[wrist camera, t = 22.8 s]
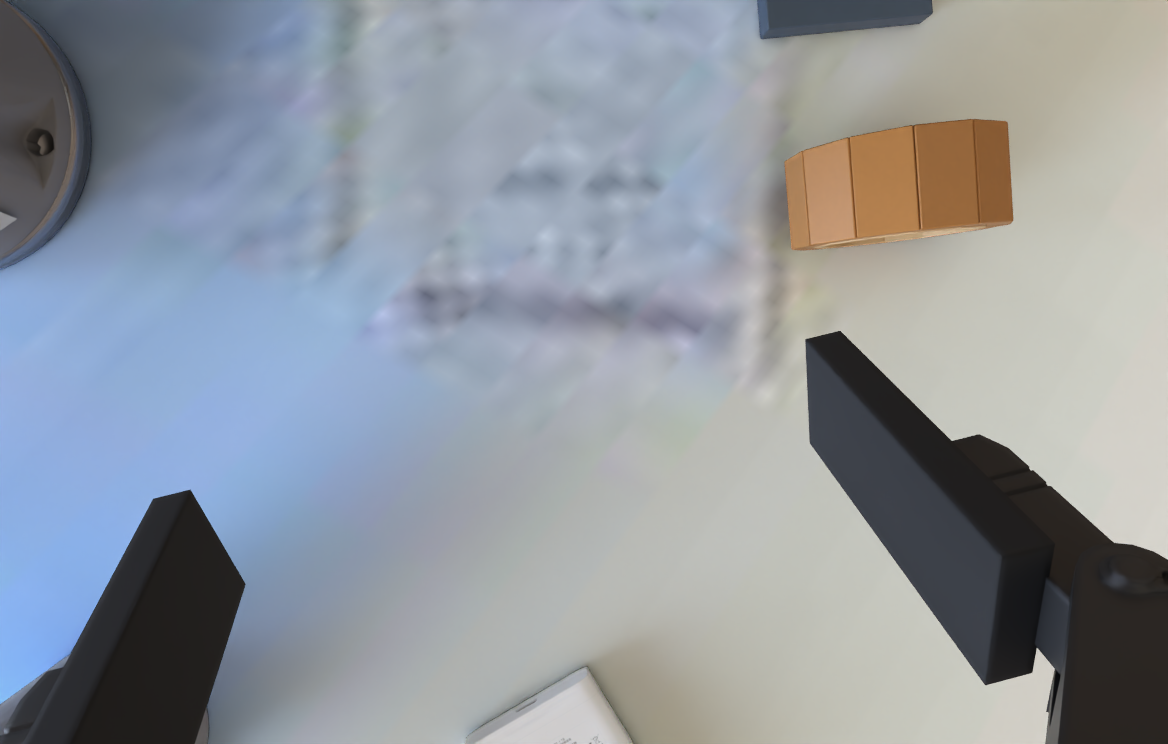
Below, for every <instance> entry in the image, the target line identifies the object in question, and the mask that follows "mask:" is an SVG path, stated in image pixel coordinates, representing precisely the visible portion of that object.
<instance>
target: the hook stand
mask: <svg viewBox="0 0 1168 744" xmlns="http://www.w3.org/2000/svg"><path fill="white" fill-rule="evenodd" d="M757 1H758V13H759V25H760V37H761V39H766V38H777V37H787V36H797V35H808V34H818V33H828V32H839V31H849V30H859V29H870V28H880V27H890V26H901V25H911V24H919V23H921V22H922V21H924V20H925V19H926V18H927V17H929V16H930V15H931V14H932V13H933V9H932V0H757Z"/></svg>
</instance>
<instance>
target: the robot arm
mask: <svg viewBox="0 0 1168 744" xmlns="http://www.w3.org/2000/svg"><path fill="white" fill-rule="evenodd" d="M90 154H91V127H90V120H89V113H88V109H87V105H86V101H85V97H84V94H83V91H82V89H81V86H80V83H79V81H78V79H77V77H76V74H75V72H74V70H73V68H72V67H71V65H70V63H69V62H68V60H67V58H66V57H65V55H64V54H63V52H62V51H61V49H60V48H59V47H58V45H57V44H56V43H55V42H54V41H53V39H52V38H51V37H50V36H49V35H48V34H47V33H46V32H45V31H44V30H43V29H42V28H41V27H40V26H39V25H38V24H37V23H36V22H35V21H34V20H32V19H31V18H30V17H29V16H28V15H26V14H25V13H24V12H22V11H21V10H19V9H18V8H16V7H15V6H13V5H12V4H10V3H8V2H6V1H5V0H0V269H3V268H5V267H8V266H10V265H13V264H15V263H17V262H18V261H20V260H22V259H24V258H26V257H27V256H29V255H30V254H32V253H33V252H35V251H36V250H38V249H39V248H40V247H41V246H43V245H44V244H45V243H46V242H47V241H49V240H50V238H51V237H52V236H53V235H54V234H55V233H56V232H57V231H58V230H59V229H60V228H61V226H62V225H63V224H64V223H65V221H66V220H67V218H68V217H69V215H70V214H71V212H72V210H73V209H74V207H75V205H76V203H77V201H78V199H79V197H80V194H81V192H82V189H83V186H84V184H85V180H86V176H87V172H88V168H89V161H90ZM805 341H806V364H807V388H808V411H809V434H810V444H811V445H812V447H813V448H814V449H815V451H816V452H817V454H818V455H819V456H820V458H821V459H822V460H823V462H824V463H825V465H826V466H827V467H828V469H829V470H830V472H831V473H832V474H833V476H834V477H835V478H836V480H837V481H838V483H839V484H840V485H841V487H842V488H843V489H844V491H845V492H846V494H847V495H848V496H849V498H850V499H851V500H852V502H853V503H854V505H855V506H856V507H857V509H858V510H859V512H860V513H861V514H862V516H863V517H864V518H865V520H866V521H867V523H868V524H869V525H870V527H871V528H872V529H873V531H874V532H875V534H876V535H877V536H878V538H879V539H880V541H881V542H882V543H883V545H884V546H885V547H886V549H887V550H888V552H889V553H890V554H891V556H892V557H893V558H894V560H895V561H896V563H897V564H898V565H899V567H900V568H901V570H902V571H903V572H904V574H905V575H906V576H907V578H908V579H909V581H910V582H911V583H912V585H913V586H914V587H915V589H916V590H917V592H918V593H919V594H920V596H921V597H922V599H923V600H924V601H925V603H926V604H927V605H928V607H929V608H930V610H931V611H932V612H933V614H934V615H935V616H936V618H937V619H938V621H939V622H940V623H941V625H942V626H943V628H944V629H945V630H946V632H947V633H948V634H949V636H950V637H951V639H952V640H953V641H954V643H955V644H956V645H957V647H958V648H959V650H960V651H961V652H962V654H963V655H964V657H965V658H966V659H967V661H968V662H969V663H970V665H971V666H972V668H973V669H974V670H975V672H976V673H977V674H978V676H979V677H980V679H981V680H982V681H983V683H984V684H985V685H988V684H992V683H996V682H999V681H1003V680H1007V679H1011V678H1014V677H1018V676H1022V675H1026V674H1029V673H1032V671H1033V665H1034V660H1035V654H1036V648H1038V649H1039V650H1040V651H1041V653H1042V654H1043V655H1044V656H1045V657H1046V659H1047V660H1048V661H1049V662H1050V663H1051V664H1052V666H1053V667H1054V668H1055V671H1054V676H1053V681H1052V686H1051V691H1050V696H1049V701H1048V706H1047V711H1046V712H1049V716H1048V725H1047V734H1046V743H1045V744H1168V560H1167V559H1165V558H1164V557H1162V556H1160V555H1159V554H1157V553H1155V552H1153V551H1150V550H1147V549H1144V548H1141V547H1137V546H1134V545H1129V544H1118V543H1114V542H1112V541H1111V540H1110V539H1109V538H1108V537H1107V536H1106V535H1104V534H1103V533H1102V532H1101V531H1100V530H1099V529H1098V528H1097V527H1096V526H1094V525H1093V524H1092V523H1091V522H1090V521H1089V520H1088V519H1087V518H1086V517H1084V516H1083V515H1082V514H1081V513H1080V512H1079V511H1078V510H1077V509H1076V508H1074V507H1073V506H1072V505H1071V504H1070V503H1069V502H1068V501H1067V500H1066V499H1064V498H1063V497H1062V496H1061V495H1060V494H1059V493H1058V492H1057V491H1056V490H1054V489H1053V488H1052V487H1051V486H1047V485H1046V481H1044V480H1043V479H1042V478H1041V477H1040V476H1039V475H1038V474H1037V473H1036V472H1034V471H1033V470H1032V471H1030V469H1029V466H1028V465H1027V464H1026V463H1024V462H1023V461H1022V460H1021V459H1020V458H1019V457H1018V456H1017V455H1016V454H1014V453H1013V452H1012V451H1011V450H1010V449H1009V448H1007V447H1005V446H1003V445H1001V444H999V443H997V442H994V441H992V440H990V439H988V438H986V437H984V436H982V435H975V436H971V437H967V438H963V439H959V440H955V441H951V440H950V439H949V438H948V437H947V436H946V435H945V434H944V433H943V432H942V431H941V430H940V429H939V428H938V427H937V426H936V425H935V424H934V423H933V422H932V421H931V420H930V419H929V418H928V417H927V416H926V415H925V414H924V413H923V412H922V411H921V410H920V409H919V408H918V407H917V406H916V405H915V404H914V403H913V402H912V401H911V400H910V399H909V398H908V397H907V396H906V395H904V394H903V393H902V392H901V391H900V390H899V389H898V388H897V387H896V386H895V385H894V384H893V383H892V382H891V381H890V380H889V379H888V378H887V377H886V376H885V375H884V374H883V373H882V372H881V371H880V370H879V369H878V368H877V367H876V366H875V365H874V364H873V363H872V362H871V361H870V360H869V359H868V358H867V357H866V356H865V355H864V354H863V353H862V352H861V351H860V350H859V349H858V348H857V347H856V346H855V345H854V344H853V343H852V342H851V341H850V340H849V339H848V338H847V337H846V336H845V335H844V334H843V333H842V332H841V331H838V332H834V333H829V334H825V335H821V336H817V337H813V338H809V339H805ZM245 585H246V584H245V582H244V581H243V579H242V577H241V575H240V574H239V572H238V570H237V569H236V567H235V565H234V563H233V562H232V560H231V558H230V557H229V555H228V553H227V552H226V550H225V548H224V546H223V545H222V543H221V541H220V540H219V538H218V536H217V534H216V533H215V531H214V529H213V528H212V526H211V524H210V522H209V521H208V519H207V517H206V516H205V514H204V512H203V510H202V509H201V507H200V505H199V504H198V502H197V500H196V498H195V497H194V495H193V493H192V492H191V490H188V491H183V492H179V493H175V494H171V495H167V496H163V497H159V498H155V499H153V500H152V502H151V504H150V506H149V508H148V510H147V512H146V513H145V515H144V517H143V519H142V521H141V523H140V525H139V527H138V528H137V530H136V532H135V534H134V536H133V538H132V540H131V542H130V543H129V545H128V547H127V549H126V551H125V553H124V555H123V557H122V558H121V560H120V562H119V564H118V566H117V568H116V570H115V572H114V573H113V575H112V577H111V579H110V581H109V583H108V585H107V587H106V588H105V590H104V592H103V594H102V596H101V598H100V600H99V602H98V603H97V605H96V607H95V609H94V611H93V613H92V615H91V617H90V618H89V620H88V622H87V624H86V626H85V628H84V630H83V631H82V633H81V635H80V637H79V639H78V641H77V643H76V645H75V646H74V648H73V650H72V652H71V654H70V656H69V658H68V660H67V661H66V663H65V665H64V667H62V668H58V669H54V670H50V671H47V672H46V673H45V674H44V675H43V676H42V677H41V678H40V679H39V680H38V681H37V682H36V683H35V685H34V686H33V687H32V688H31V689H30V690H29V691H28V692H27V693H26V694H25V695H24V696H23V698H22V699H21V700H20V701H19V703H18V705H17V706H16V708H15V710H14V712H13V714H12V715H11V717H10V719H9V721H8V722H7V724H6V726H5V728H4V729H3V730H4V735H0V744H195V742H196V739H197V735H198V732H199V729H200V726H201V723H202V720H203V717H204V713H205V710H206V707H207V704H208V701H209V698H210V695H211V691H212V688H213V685H214V682H215V679H216V676H217V673H218V669H219V666H220V663H221V660H222V657H223V654H224V651H225V647H226V644H227V641H228V638H229V635H230V632H231V629H232V625H233V622H234V619H235V616H236V613H237V610H238V607H239V603H240V600H241V597H242V594H243V591H244V588H245Z"/></svg>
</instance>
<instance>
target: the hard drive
mask: <svg viewBox="0 0 1168 744" xmlns="http://www.w3.org/2000/svg"><path fill="white" fill-rule="evenodd" d="M465 744H634V743H633V741H632V740H631V738H630V736H629V735H628V733H627V732H626V730H625V728H624V727H623V725H622V724H621V722H620V721H619V719H618V717H617V716H616V714H615V712H614V711H613V709H612V707H611V706H610V704H609V702H608V701H607V699H606V698H605V696H604V694H603V693H602V691H601V689H600V688H599V686H598V684H597V682H596V680H595V679H594V677H593V676H592V674H591V672H590V671H589V669H588V667H584V668H581V669H579V670H577V671H575V672H574V673H572V674H570V675H569V676H567V677H565V678H563V679H562V680H560V681H558V682H556V683H555V684H553V685H551V686H550V687H548V688H546V689H545V690H543V691H541V692H539V693H538V694H536V695H534V696H533V697H531V698H529V699H527V700H526V701H524V702H522V703H521V704H519V705H517V706H516V707H514V708H512V709H510V710H509V711H507V712H505V713H504V714H502V715H500V716H499V717H497V718H495V719H494V720H492V721H490V722H488V723H487V724H485V725H483V726H482V727H480V728H478V729H476V730H475V731H473V732H472V733H471V734H470V735H468V736H467V737H466V741H465Z"/></svg>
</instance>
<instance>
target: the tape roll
mask: <svg viewBox="0 0 1168 744" xmlns="http://www.w3.org/2000/svg"><path fill="white" fill-rule="evenodd" d="M785 175H786V187H787V199H788V211H789V223H790V235H791V247H792V250H814V249H826V248H838V247H849V246H859V245H868V244H877V243H886V242H894V241H902V240H910V239H918V238H926V237H933V236H940V235H947V234H954V233H961V232H967V231H974V230H980V229H986V228H992V227H997V226H1003V225H1008V224H1011V223H1012V221H1013V207H1012V189H1011V171H1010V154H1009V136H1008V123H1007V122H1006V121H995V120H980V119H967V120H957V121H947V122H937V123H927V124H917V125H914V126H912V125H910V126H904V127H899V128H894V129H889V130H883V131H878V132H873V133H867V134H862V135H857V136H851V137H850V138H844V139H841V140H837V141H834V142H830V143H827V144H824V145H820V146H817V147H813V148H810V149H806V150H804V151H801V152H799V153H798V154H796V155H794V156H793V157H791V158H790V159H788V160H786V161H785Z"/></svg>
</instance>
